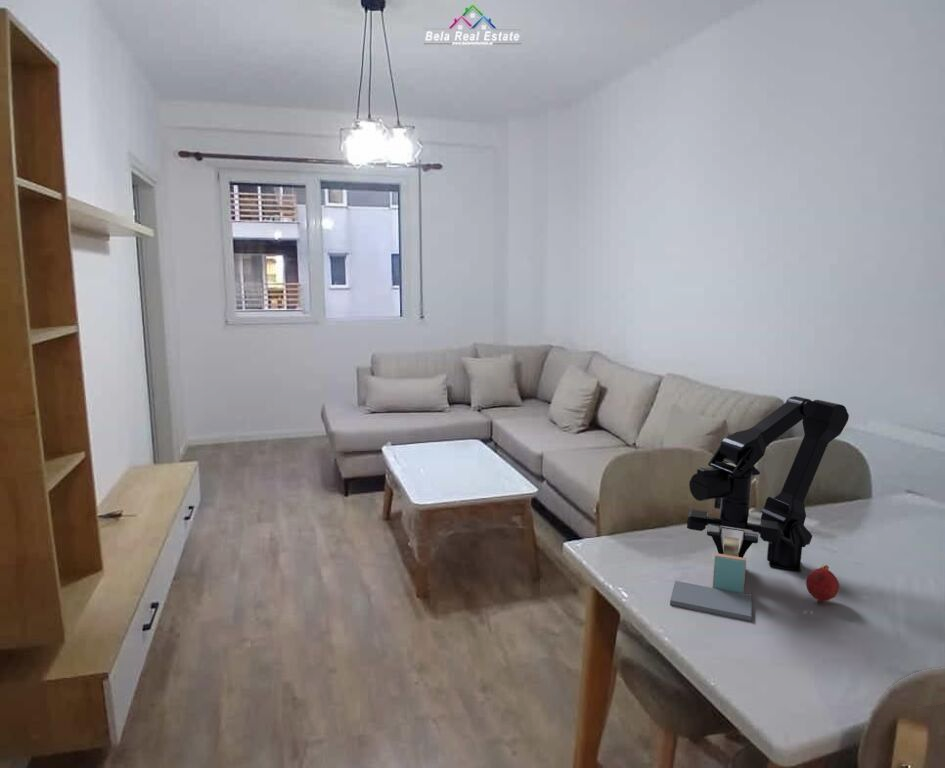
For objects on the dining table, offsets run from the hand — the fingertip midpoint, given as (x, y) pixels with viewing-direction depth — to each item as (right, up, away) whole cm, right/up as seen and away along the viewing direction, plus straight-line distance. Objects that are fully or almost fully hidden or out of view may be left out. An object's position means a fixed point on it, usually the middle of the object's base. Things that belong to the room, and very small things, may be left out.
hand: (730, 562), depth 139 cm
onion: (+14, -5, -11) cm, 18 cm away
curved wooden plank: (0, -1, 0) cm, 1 cm away
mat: (-9, -5, -11) cm, 15 cm away
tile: (-4, -4, -7) cm, 9 cm away
